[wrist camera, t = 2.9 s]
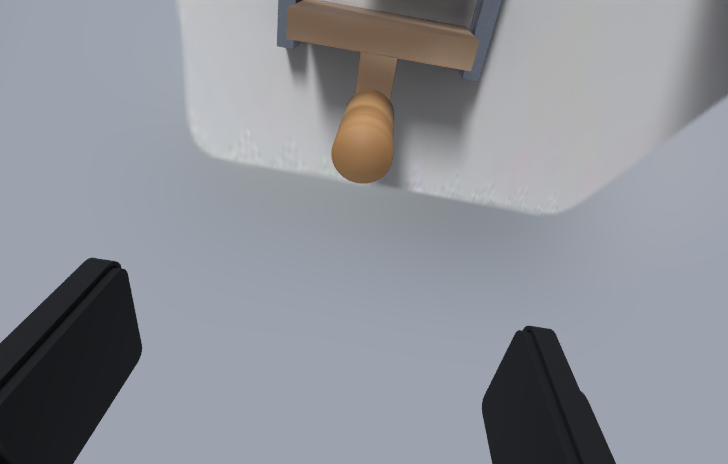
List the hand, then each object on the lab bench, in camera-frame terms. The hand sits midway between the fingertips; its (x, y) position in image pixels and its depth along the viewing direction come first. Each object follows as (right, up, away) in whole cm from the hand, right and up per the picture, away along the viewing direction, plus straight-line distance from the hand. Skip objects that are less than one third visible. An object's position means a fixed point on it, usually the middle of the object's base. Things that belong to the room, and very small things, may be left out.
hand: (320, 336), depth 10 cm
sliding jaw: (+2, +14, +18) cm, 22 cm away
